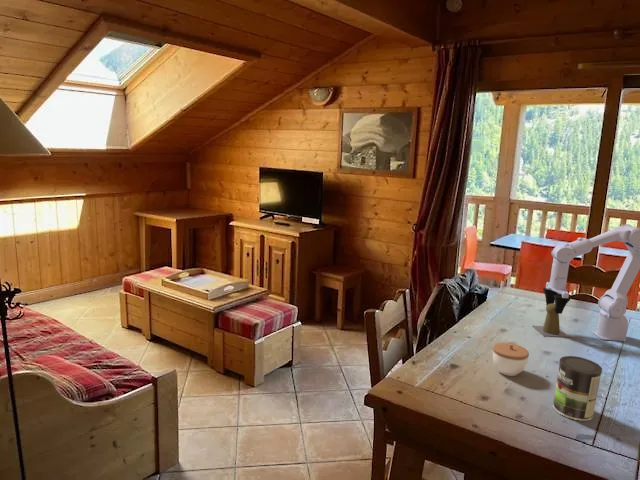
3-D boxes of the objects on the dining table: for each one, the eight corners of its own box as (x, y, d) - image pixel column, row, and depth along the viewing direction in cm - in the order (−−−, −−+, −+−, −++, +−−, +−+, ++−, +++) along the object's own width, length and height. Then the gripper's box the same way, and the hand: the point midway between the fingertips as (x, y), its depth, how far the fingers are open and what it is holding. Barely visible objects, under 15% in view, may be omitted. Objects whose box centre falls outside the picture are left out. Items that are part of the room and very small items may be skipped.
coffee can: (566, 421, 127) (574, 373, 124) (545, 401, 137) (552, 355, 134) (602, 421, 128) (611, 373, 125) (579, 400, 138) (586, 355, 135)
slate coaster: (556, 329, 195) (556, 326, 194) (569, 339, 185) (569, 336, 185) (531, 328, 194) (532, 325, 194) (543, 338, 185) (543, 335, 184)
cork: (561, 334, 186) (564, 307, 183) (545, 333, 187) (547, 307, 184) (557, 328, 191) (559, 302, 189) (541, 327, 192) (543, 301, 190)
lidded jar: (503, 381, 148) (507, 353, 146) (483, 365, 158) (486, 338, 156) (533, 378, 151) (537, 350, 149) (511, 362, 161) (514, 336, 159)
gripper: (540, 271, 192) (535, 303, 195) (557, 281, 178) (552, 316, 180) (558, 271, 192) (553, 303, 195) (576, 282, 177) (570, 316, 180)
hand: (553, 309), depth 187 cm, fingers open, 7 cm apart
